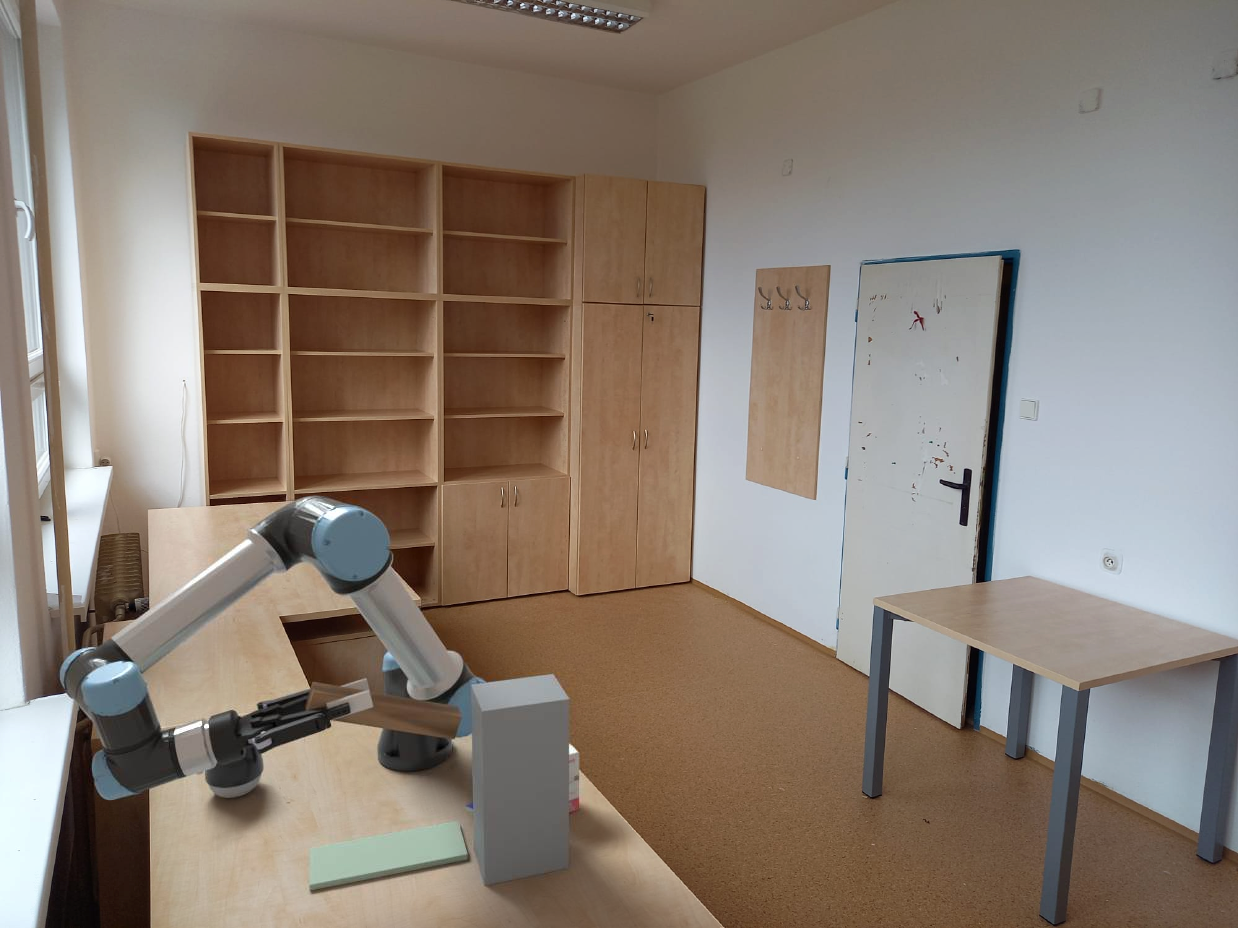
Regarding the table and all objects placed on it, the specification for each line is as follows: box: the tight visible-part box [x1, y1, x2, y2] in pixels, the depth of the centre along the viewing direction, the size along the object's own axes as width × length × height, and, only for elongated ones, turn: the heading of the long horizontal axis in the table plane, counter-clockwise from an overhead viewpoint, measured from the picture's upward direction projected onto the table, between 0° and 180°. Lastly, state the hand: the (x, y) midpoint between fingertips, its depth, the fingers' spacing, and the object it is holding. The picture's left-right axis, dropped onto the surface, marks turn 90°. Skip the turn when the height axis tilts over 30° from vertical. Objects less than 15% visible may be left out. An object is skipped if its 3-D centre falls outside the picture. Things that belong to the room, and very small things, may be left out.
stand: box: [471, 673, 570, 886], centre depth 141 cm, size 10×14×30 cm
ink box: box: [569, 742, 580, 813], centre depth 157 cm, size 9×5×12 cm, turn 118°
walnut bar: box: [305, 681, 462, 740], centre depth 137 cm, size 4×24×4 cm, turn 111°
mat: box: [308, 820, 469, 891], centre depth 143 cm, size 10×25×1 cm, turn 109°
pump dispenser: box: [204, 714, 265, 799], centre depth 161 cm, size 10×10×15 cm
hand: (369, 692), depth 136 cm, fingers closed on walnut bar, 4 cm apart
